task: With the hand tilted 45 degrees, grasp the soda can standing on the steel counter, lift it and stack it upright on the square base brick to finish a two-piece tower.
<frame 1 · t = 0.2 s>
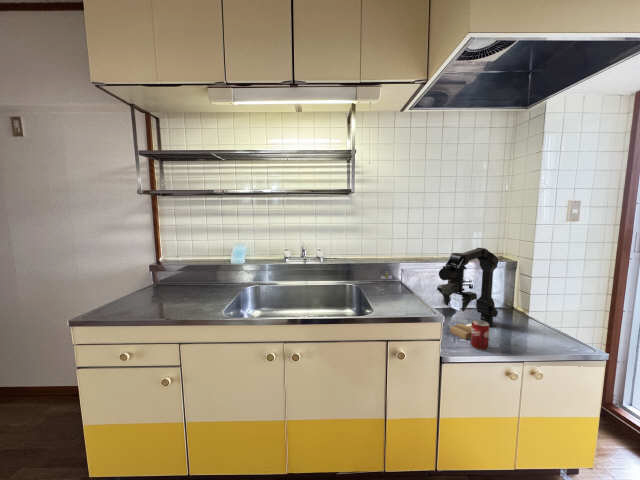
hand: (454, 308, 138), 15 cm above the table, tool pointing down, fingers open, 9 cm apart
instruction page: (470, 328, 148), on the table
soda can: (479, 347, 128), on the table
base brick: (463, 334, 141), on the table
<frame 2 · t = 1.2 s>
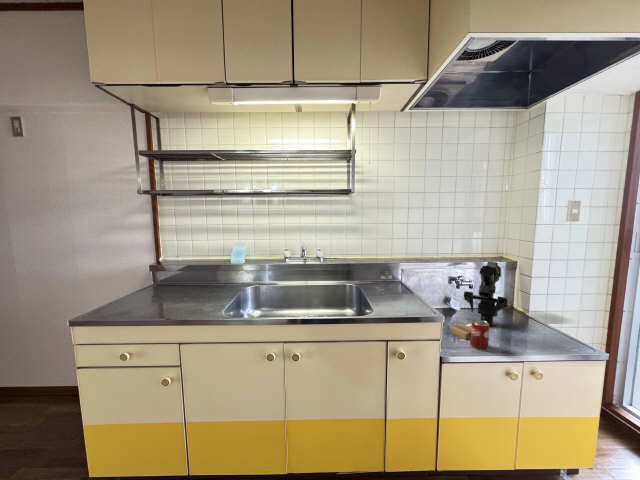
hand: (482, 314, 133), 13 cm above the table, tool tilted 45°, fingers open, 9 cm apart
nothing on the table moved.
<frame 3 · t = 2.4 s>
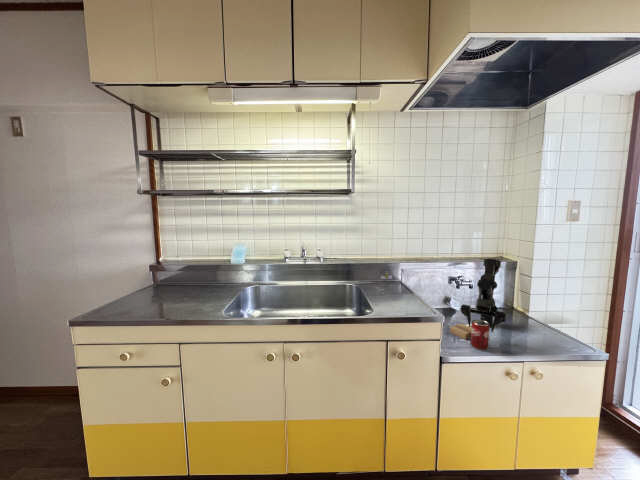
hand: (480, 329, 128), 8 cm above the table, tool tilted 45°, fingers open, 9 cm apart
nothing on the table moved.
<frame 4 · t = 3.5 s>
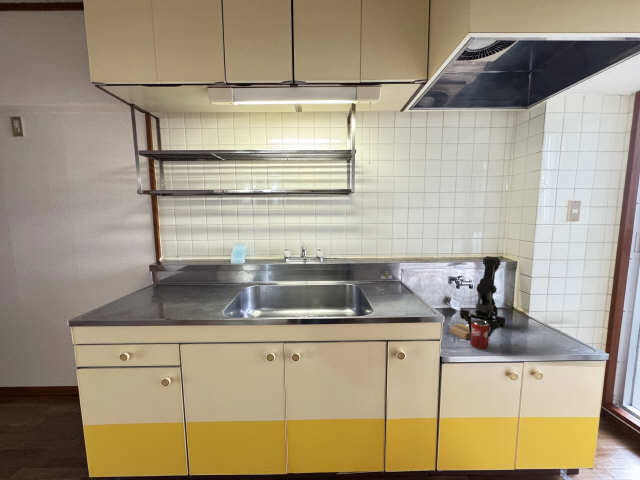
hand: (479, 334, 126), 7 cm above the table, tool tilted 45°, fingers closed on soda can, 7 cm apart
soda can: (479, 347, 128), on the table, touching gripper
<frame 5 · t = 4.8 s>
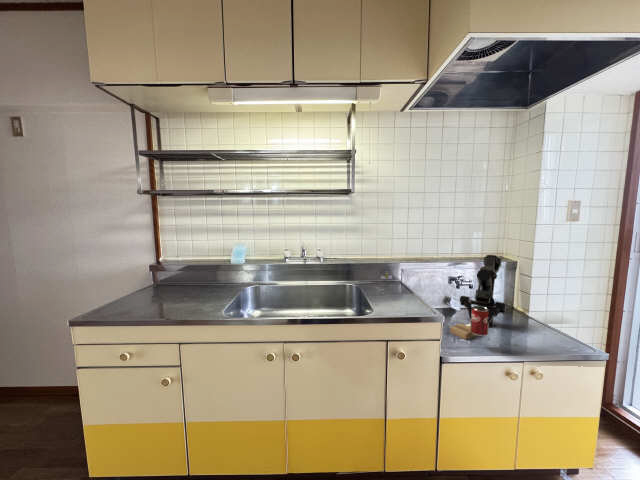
hand: (479, 320, 126), 13 cm above the table, tool tilted 45°, fingers closed on soda can, 7 cm apart
soda can: (479, 333, 128), point 6 cm above the table, touching gripper
when the fingers open (10 cm above the table, at t = 6.6 s): soda can stays where it is, resting on base brick.
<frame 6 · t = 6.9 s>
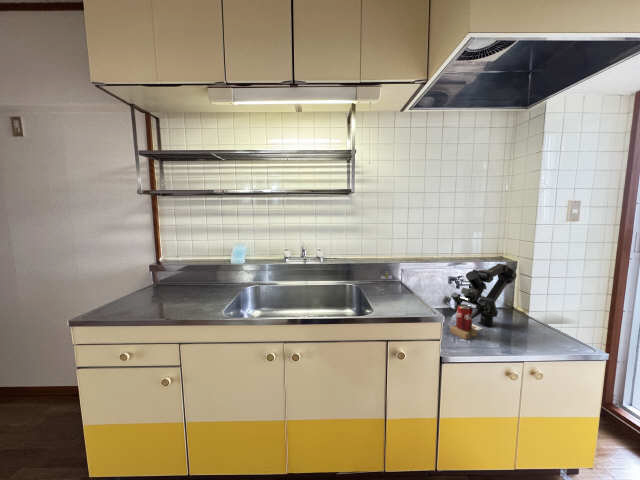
hand: (462, 315, 139), 11 cm above the table, tool tilted 45°, fingers open, 9 cm apart
soda can: (463, 328, 141), point 3 cm above the table, touching base brick
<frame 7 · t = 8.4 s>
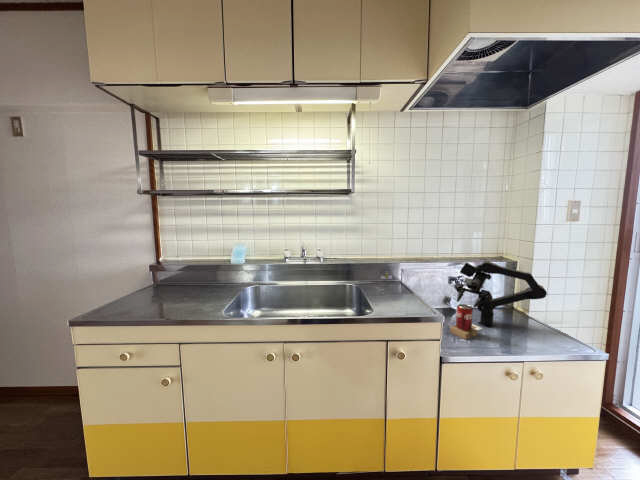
hand: (465, 304, 146), 14 cm above the table, tool tilted 45°, fingers open, 9 cm apart
nothing on the table moved.
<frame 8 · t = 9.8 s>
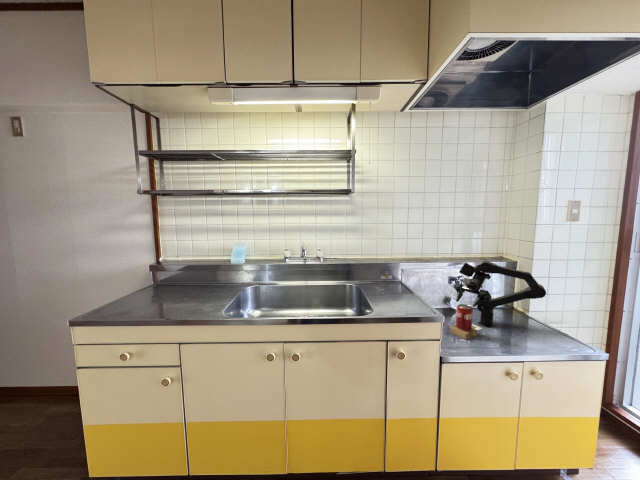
hand: (464, 304, 147), 14 cm above the table, tool tilted 45°, fingers open, 9 cm apart
nothing on the table moved.
at the end: soda can 0.2 cm off-centre on the base brick, point 2.8 cm above the base brick's base; soda can tilted 0°; the gripper is holding nothing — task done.
